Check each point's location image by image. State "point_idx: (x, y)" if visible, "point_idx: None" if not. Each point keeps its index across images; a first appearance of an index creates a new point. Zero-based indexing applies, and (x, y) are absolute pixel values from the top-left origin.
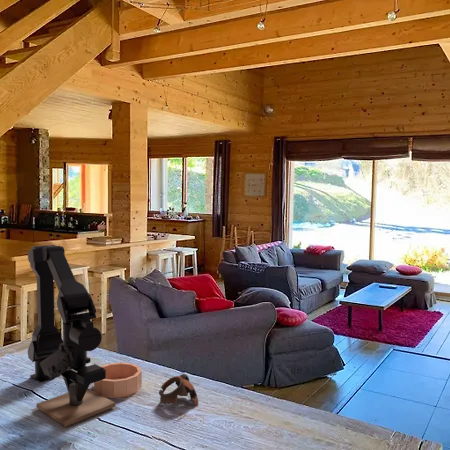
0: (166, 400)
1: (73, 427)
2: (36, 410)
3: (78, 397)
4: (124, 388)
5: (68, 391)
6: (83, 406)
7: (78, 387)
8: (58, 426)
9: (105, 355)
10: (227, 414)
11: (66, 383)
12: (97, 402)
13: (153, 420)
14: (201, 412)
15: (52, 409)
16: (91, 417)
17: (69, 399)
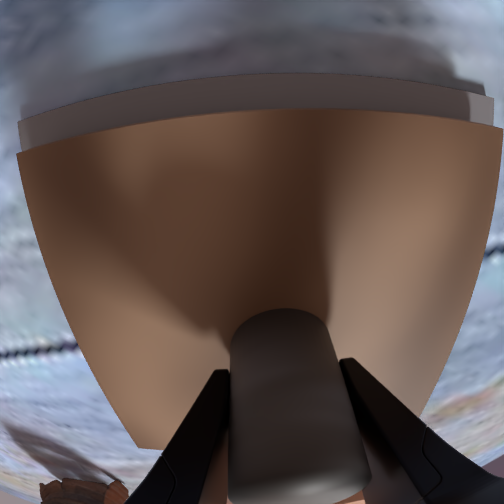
0: (57, 488)
1: None
2: (465, 113)
3: (197, 400)
4: (227, 499)
5: (374, 387)
6: (191, 359)
7: (129, 499)
8: (102, 110)
9: (494, 454)
10: (21, 474)
11: (413, 449)
12: None
13: (21, 422)
14: (38, 472)
15: (327, 159)
16: None
17: (306, 340)
